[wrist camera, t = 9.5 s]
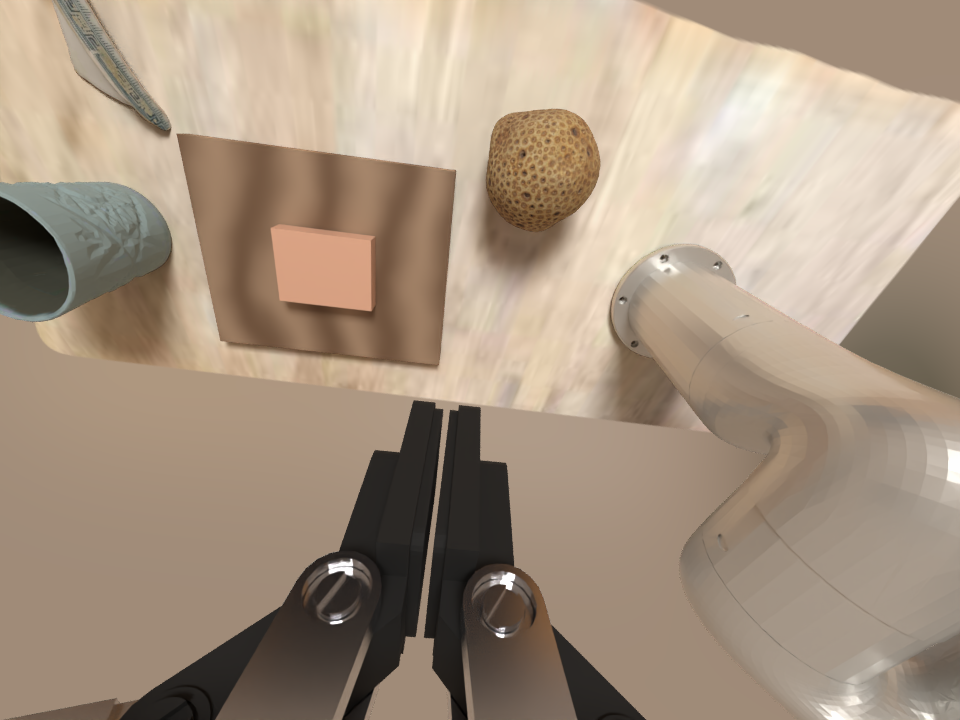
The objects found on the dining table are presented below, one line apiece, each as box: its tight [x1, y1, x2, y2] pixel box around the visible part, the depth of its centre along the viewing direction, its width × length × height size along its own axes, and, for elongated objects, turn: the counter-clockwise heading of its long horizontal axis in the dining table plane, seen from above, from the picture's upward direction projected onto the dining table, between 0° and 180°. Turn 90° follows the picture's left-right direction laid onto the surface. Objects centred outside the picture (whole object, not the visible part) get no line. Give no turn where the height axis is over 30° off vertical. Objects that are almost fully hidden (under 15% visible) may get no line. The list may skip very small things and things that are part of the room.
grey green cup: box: [0, 182, 171, 322], centre depth 35 cm, size 10×10×12 cm
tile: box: [271, 224, 376, 311], centre depth 39 cm, size 2×7×9 cm
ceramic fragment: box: [52, 0, 171, 130], centre depth 32 cm, size 14×5×4 cm, turn 17°
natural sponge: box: [486, 109, 600, 232], centre depth 33 cm, size 9×9×10 cm
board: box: [177, 134, 456, 365], centre depth 41 cm, size 24×20×2 cm
